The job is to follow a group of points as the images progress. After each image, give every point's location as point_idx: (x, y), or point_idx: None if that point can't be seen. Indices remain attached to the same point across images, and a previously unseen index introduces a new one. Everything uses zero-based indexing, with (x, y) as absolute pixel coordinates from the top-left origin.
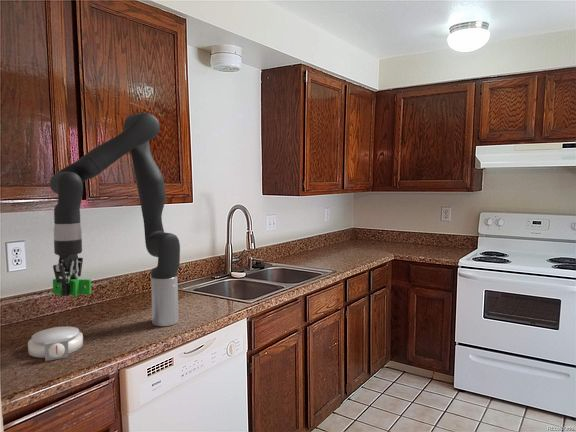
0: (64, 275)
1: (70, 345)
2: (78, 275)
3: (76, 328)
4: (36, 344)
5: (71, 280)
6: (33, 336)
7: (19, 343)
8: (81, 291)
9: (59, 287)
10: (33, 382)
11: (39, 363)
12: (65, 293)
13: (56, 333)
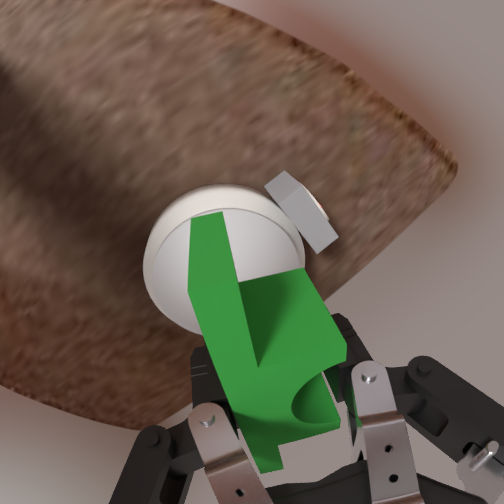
0: (466, 397)
1: (255, 195)
2: (172, 437)
3: (162, 251)
4: None
5: (290, 401)
6: None
7: None
8: (238, 283)
9: (327, 391)
10: (418, 161)
11: (330, 221)
12: (343, 323)
13: None
